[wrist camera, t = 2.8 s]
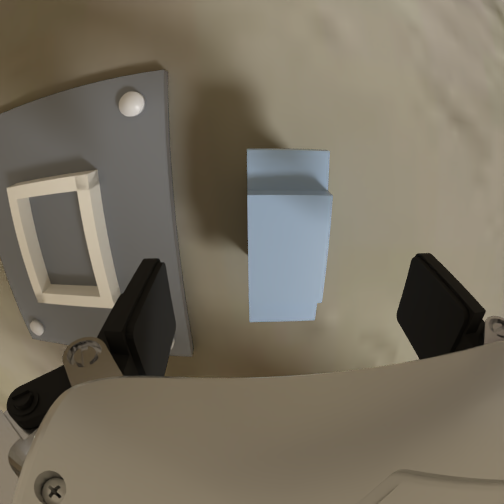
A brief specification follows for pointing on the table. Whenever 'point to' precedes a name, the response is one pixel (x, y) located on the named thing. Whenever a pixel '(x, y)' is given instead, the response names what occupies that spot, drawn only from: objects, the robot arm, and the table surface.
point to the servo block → (287, 232)
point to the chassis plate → (88, 204)
